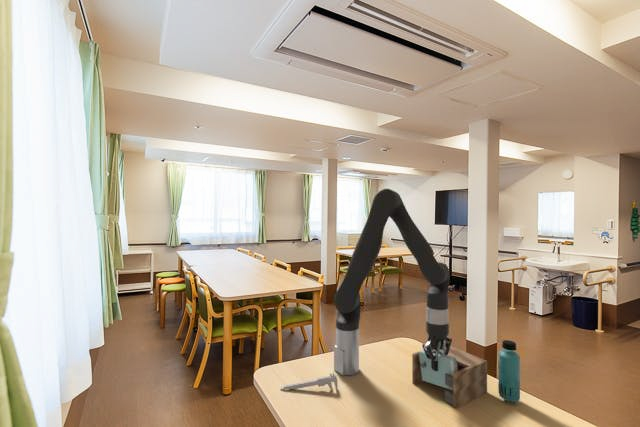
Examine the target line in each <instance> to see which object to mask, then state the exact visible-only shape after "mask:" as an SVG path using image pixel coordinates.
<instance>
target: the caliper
mask: <svg viewBox="0 0 640 427" xmlns="http://www.w3.org/2000/svg"><path fill="white" fill-rule="evenodd" d="M332 383H333V384H334V387H335V390H336V391H338V389H339V388H338V386H339V385H338V378H337V375H336V374H335V373H334V372H332V373H331V372H330V373H329V375H327V376H323V377H318V378H316V379H313V380H308V381H302V382H296V383H291V384H286V385H283V387H281V388H280V390H281V389H293V390H297V389H302V388H308V387H314V386H318V387H319V388H320V387H324V386H326V385H327V386H328V387H329V389H330V391H333V385H332Z"/></svg>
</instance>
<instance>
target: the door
mask: <svg viewBox="0 0 640 427" xmlns="http://www.w3.org/2000/svg"><path fill="white" fill-rule="evenodd" d="M418 352H419V359H420V367H421V374H422V380H423V381H422V382H426V383H430V384H432V385H436V386H439V387H441V388H444V389H446V390H449V391H453V388H451V387H449V386H447V385H445V374H446V373H447V374H449V375H451V376H453V373H455V372H457V371H458V367H457V361H456V357H451V356H447V355H442V354H438V360H437V361H438V371H434V370H432V368H431V359H428V358H427V357H426V354H425V352H424V349H422V350H420V351H418ZM433 355H434V356H435V354H434V353H433Z"/></svg>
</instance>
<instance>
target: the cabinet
mask: <svg viewBox="0 0 640 427" xmlns="http://www.w3.org/2000/svg"><path fill="white" fill-rule="evenodd" d="M433 350H434V349H433ZM435 351H436V350H435ZM411 356H412V358H411V359H412V364H411V365H412V366H411V367H412V368H411V369H412V373H411V374H412V384H413V385H417V384H419V383H422V382H424V381H423V380H422V374H421V367H420V359H419V351H416V352H413V353H412V355H411ZM447 356H451V357H456V361H457V367H458V371H457V372H455V373H453V376H451V375H449V374H447V373H446V374H445V385H447V386H449V387H451V388H453V390H452V391H451V390H449V389H445V390H444V401H445V402H446V403H448V404H450V405H451V406H452V407H453V408H454V409H458V408H460V407H461V406H463V405H465V404H467V403H469V402H472V401H473V400H475V399H477V398H479V397H481V396H482V395H485V394H486V393H487V392H488V360H485V359H483V358H482V357H478V356H477V355H473V354H471V353H469V352H466V351H464V350H461V349H459V348H456V347H453V346H452V345H451V346H450V349H449V353H448V355H447Z"/></svg>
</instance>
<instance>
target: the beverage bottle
mask: <svg viewBox="0 0 640 427" xmlns="http://www.w3.org/2000/svg"><path fill="white" fill-rule="evenodd" d="M501 347H502V350H500V351H498V360H497V361H498V363H497V364H498V368H497V369H498V383H497V384H498V385H497V386H498V388H497V389H498V395H499V397H500V398H501V399H503V400H506V401H508V402H512V403H513V402H519V401H520V399H521V382H520V381H521V378H520V376H521V370H520V369H521V368H520V367H521V365H520V363H521V357H520V355H519V354H518V353H517V352H516V351H517V343H516V342H515V341H512V340H509V339H504V340H502V344H501Z"/></svg>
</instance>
